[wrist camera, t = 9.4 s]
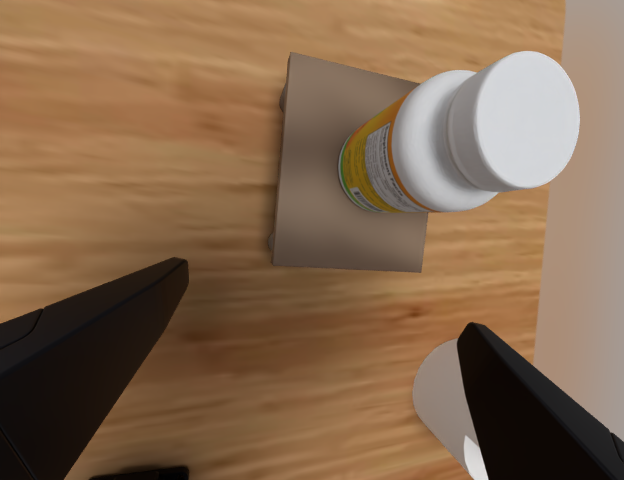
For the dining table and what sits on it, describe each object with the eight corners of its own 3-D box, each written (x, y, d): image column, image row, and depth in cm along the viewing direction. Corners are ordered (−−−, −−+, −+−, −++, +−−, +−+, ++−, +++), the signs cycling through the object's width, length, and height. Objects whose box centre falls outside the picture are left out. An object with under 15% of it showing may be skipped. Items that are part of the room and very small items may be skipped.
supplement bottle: (410, 121, 18) (598, 23, 9) (418, 206, 19) (599, 200, 9) (330, 127, 17) (448, 18, 7) (341, 218, 17) (462, 223, 8)
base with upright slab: (508, 358, 28) (699, 461, 16) (466, 442, 28) (632, 607, 16) (441, 323, 26) (610, 413, 14) (395, 413, 25) (529, 583, 14)
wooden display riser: (387, 261, 24) (421, 272, 19) (265, 254, 21) (273, 265, 17) (403, 113, 23) (442, 89, 18) (279, 86, 20) (290, 51, 16)
